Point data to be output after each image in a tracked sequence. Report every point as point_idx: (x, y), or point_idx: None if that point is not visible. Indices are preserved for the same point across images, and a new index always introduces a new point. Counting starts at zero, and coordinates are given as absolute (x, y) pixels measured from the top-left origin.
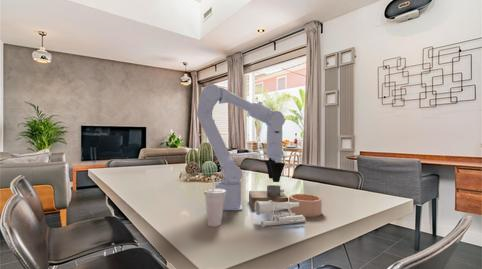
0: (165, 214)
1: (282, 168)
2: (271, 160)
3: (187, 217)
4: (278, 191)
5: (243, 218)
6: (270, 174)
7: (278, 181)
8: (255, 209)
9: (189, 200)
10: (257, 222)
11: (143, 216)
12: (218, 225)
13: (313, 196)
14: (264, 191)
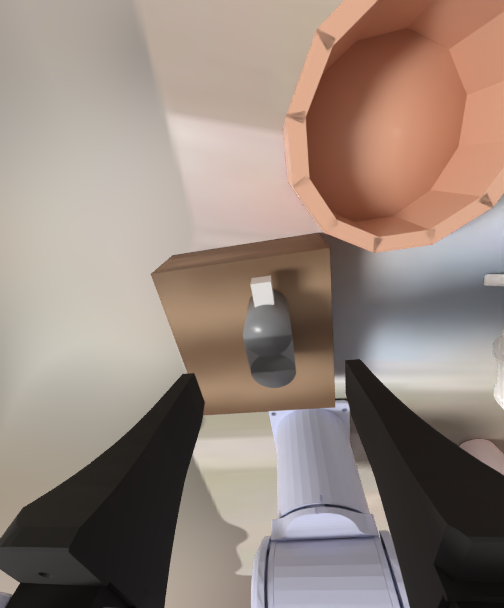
0: (375, 523)
1: (480, 462)
2: (129, 596)
3: None
4: (288, 312)
5: (434, 393)
6: (192, 424)
7: (363, 366)
8: (497, 394)
9: (245, 505)
10: (487, 358)
11: None
12: (493, 444)
13: (353, 27)
14: (193, 358)
